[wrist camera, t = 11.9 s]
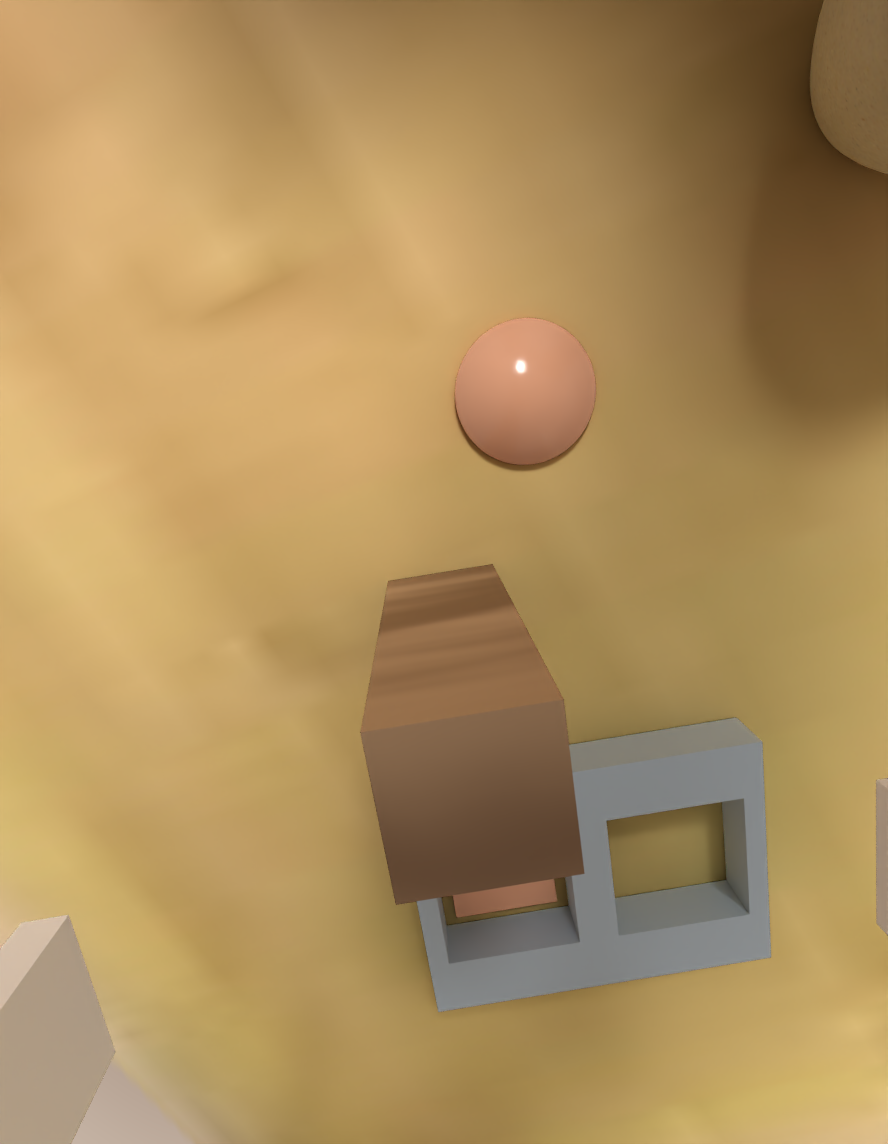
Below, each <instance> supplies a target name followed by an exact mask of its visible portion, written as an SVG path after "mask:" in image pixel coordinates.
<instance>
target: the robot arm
mask: <svg viewBox="0 0 888 1144" xmlns="http://www.w3.org/2000/svg"><path fill="white" fill-rule="evenodd" d="M876 912H877V924H878V925H879V927H880V928H881V929H882V930H883V931H884V932H885V933H886V934H887V935H888V778H885V779H879V780H876ZM114 1054H115V1049H114V1046H113V1043H112V1040H111V1037H110V1034H109V1031H108V1028H107V1026H106V1023H105V1020H104V1017H103V1014H102V1011H101V1008H100V1005H99V1002H98V999H97V996H96V993H95V990H94V988H93V985H92V982H91V979H90V976H89V973H88V970H87V967H86V964H85V961H84V958H83V955H82V952H81V950H80V947H79V944H78V941H77V938H76V935H75V932H74V929H73V926H72V923H71V920H70V917H69V915H64V916H58V917H52V918H46V919H40V920H34V921H28V922H22V923H20V925H19V926H18V927H17V928H16V930H15V931H14V932H13V933H12V935H11V936H10V937H9V938H8V940H7V941H6V942H5V943H4V945H3V946H2V947H1V948H0V1144H71V1143H72V1140H73V1139H74V1137H75V1135H76V1133H77V1130H78V1128H79V1126H80V1124H81V1122H82V1120H83V1118H84V1116H85V1114H86V1112H87V1110H88V1108H89V1105H90V1104H91V1102H92V1099H93V1097H94V1095H95V1093H96V1091H97V1089H98V1087H99V1085H100V1083H101V1081H102V1079H103V1077H104V1075H105V1073H106V1070H107V1068H108V1066H109V1064H110V1062H111V1060H112V1058H113V1056H114Z"/></svg>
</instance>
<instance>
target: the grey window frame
mask: <svg viewBox="0 0 888 1144" xmlns="http://www.w3.org/2000/svg"><path fill="white" fill-rule="evenodd" d="M569 748H570V757H571V765H572V773H573V782H574V790H575V798H576V806H577V815H578V823H579V831H580V839H581V848H582V856H583V864H584V873H585V874H581V875H574V876H568V877H565V881H566V889H567V897H568V904H569V906H563V907H557V908H551V909H545V910H539V911H533V912H527V913H521V914H515V915H508V916H502V917H496V918H490V919H484V920H478V921H472V922H466V923H460V924H453V925H447V924H446V919H445V914H444V908H443V903H442V897H440V898H434V899H428V900H422V901H417V906H418V911H419V916H420V921H421V926H422V931H423V937H424V942H425V947H426V952H427V957H428V962H429V967H430V972H431V977H432V982H433V987H434V992H435V997H436V1003H437V1008H438V1012H442V1011H448V1010H454V1009H460V1008H466V1007H472V1006H478V1005H485V1004H491V1003H497V1002H503V1001H509V1000H515V999H521V998H527V997H533V996H539V995H545V994H552V993H558V992H564V991H570V990H576V989H582V988H588V987H594V986H600V985H606V984H613V983H619V982H625V981H631V980H637V979H643V978H649V977H655V976H661V975H667V974H673V973H680V972H686V971H692V970H698V969H704V968H710V967H716V966H722V965H728V964H734V963H740V962H747V961H753V960H759V959H765V958H771V943H770V918H769V893H768V869H767V844H766V819H765V795H764V770H763V745H762V741H761V740H760V739H759V738H758V737H757V736H756V735H755V734H754V733H753V732H751V731H750V730H749V729H748V728H747V727H746V726H745V725H744V724H743V723H742V722H741V721H740V720H739V719H737V718H730V719H724V720H718V721H712V722H706V723H700V724H694V725H687V726H681V727H675V728H669V729H663V730H657V731H651V732H644V733H638V734H632V735H626V736H620V737H614V738H608V739H601V740H595V741H589V742H583V743H577V744H571V745H569ZM718 802H722V812H723V829H724V846H725V863H726V880H722V881H716V882H710V883H704V884H698V885H692V886H686V887H680V888H673V889H667V890H661V891H655V892H649V893H643V894H637V895H631V896H625V897H618V898H615V895H614V886H613V877H612V868H611V858H610V849H609V840H608V831H607V822H606V821H608V820H614V819H620V818H626V817H632V816H638V815H645V814H651V813H657V812H663V811H669V810H675V809H681V808H687V807H694V806H700V805H706V804H712V803H718ZM453 901H454V906H455V912H456V917H457V918H458V917H464V916H470V915H476V914H483V913H489V912H495V911H501V910H507V909H513V908H519V907H525V906H531V905H538V904H544V903H550V902H556V901H557V897H556V890H555V882H554V879H550V880H544V881H538V882H532V883H526V884H519V885H513V886H507V887H501V888H495V889H489V890H483V891H477V892H471V893H465V894H458V895H453Z"/></svg>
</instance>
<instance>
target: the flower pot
mask: <svg viewBox="0 0 888 1144" xmlns="http://www.w3.org/2000/svg"><path fill="white" fill-rule="evenodd" d="M810 95H811V103H812V108H813V112H814V116H815V119H816V121H817V123H818V125H819V128H820V129H821V131H822V133H823V134H824V136H825V137H826V138H827V140H828V141H829V143H831V144H832V145H833V146H834V147H835V148H836V149H837V150H838V151H840V152H841V153H842V154H843V155H845V156H846V157H848V158H850V159H851V160H853V161H855V162H857V163H859V164H861V165H863V166H865V167H868V168H870V169H873V170H876V171H879V172H881V173H885V174H888V0H824V1H823V5H822V8H821V12H820V15H819V19H818V23H817V28H816V33H815V38H814V45H813V52H812V59H811V70H810Z"/></svg>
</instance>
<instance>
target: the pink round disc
mask: <svg viewBox="0 0 888 1144" xmlns="http://www.w3.org/2000/svg"><path fill="white" fill-rule="evenodd" d="M595 396H596V382H595V375H594V371H593V367H592V364H591V361H590V359H589V357H588V355H587V353H586V351H585V350H584V348H583V347H582V345H581V344H580V343H579V342H578V340H577V339H576V338H575V337H574V336H573V335H571V334H570V333H569V332H568V331H566V330H565V329H563V328H562V327H560V326H558V325H556V324H554V323H552V322H549V321H546V320H541V319H536V318H520V319H514V320H509V321H506V322H503V323H501V324H498V325H496V326H495V327H493V328H491V329H489V330H488V331H487V332H485V333H484V334H483V335H481V336H480V337H479V338H478V339H477V340H476V341H475V342H474V344H473V345H472V346H471V347H470V349H469V350H468V352H467V353H466V355H465V357H464V358H463V361H462V363H461V365H460V368H459V371H458V374H457V379H456V385H455V402H456V408H457V413H458V416H459V419H460V422H461V424H462V426H463V428H464V430H465V432H466V433H467V435H468V436H469V438H470V439H471V440H472V441H473V442H474V444H475V445H476V446H477V447H479V448H480V449H481V450H482V451H483V452H485V453H486V454H488V455H490V456H491V457H493V458H496V459H498V460H500V461H503V462H506V463H511V464H518V465H529V464H536V463H541V462H544V461H547V460H550V459H552V458H554V457H556V456H558V455H560V454H561V453H563V452H564V451H566V450H567V449H568V448H569V447H570V446H571V445H573V444H574V443H575V441H576V440H577V439H578V438H579V437H580V436H581V434H582V433H583V431H584V430H585V428H586V426H587V424H588V422H589V420H590V417H591V415H592V412H593V408H594V403H595Z"/></svg>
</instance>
